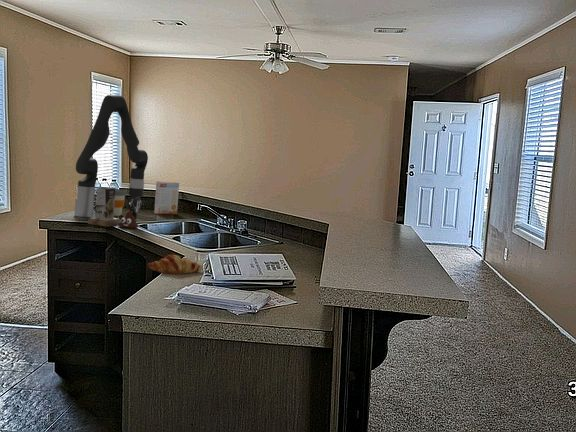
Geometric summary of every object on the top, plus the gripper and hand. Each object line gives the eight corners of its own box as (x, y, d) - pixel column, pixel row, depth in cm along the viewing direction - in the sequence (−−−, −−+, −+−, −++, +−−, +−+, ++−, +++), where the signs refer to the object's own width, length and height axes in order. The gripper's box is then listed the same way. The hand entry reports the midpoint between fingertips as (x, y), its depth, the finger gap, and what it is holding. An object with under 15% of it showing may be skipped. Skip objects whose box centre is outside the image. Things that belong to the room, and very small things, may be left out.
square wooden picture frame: (87, 223, 316) (88, 217, 315) (99, 221, 327) (99, 215, 327) (108, 226, 313) (109, 220, 313) (119, 224, 325) (120, 218, 325)
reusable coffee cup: (98, 213, 358) (99, 188, 356) (115, 212, 368) (116, 188, 366) (111, 216, 351) (113, 191, 349) (128, 215, 361) (130, 191, 359)
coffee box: (105, 219, 315) (107, 189, 313) (94, 218, 316) (96, 187, 314) (113, 217, 324) (116, 188, 322) (103, 216, 325) (105, 187, 323)
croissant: (199, 279, 234) (198, 259, 236) (207, 272, 225) (206, 252, 228) (144, 277, 224) (144, 257, 227) (151, 271, 216) (150, 249, 219)
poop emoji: (140, 227, 320) (141, 210, 319) (133, 229, 312) (134, 212, 311) (123, 225, 322) (124, 208, 321) (115, 227, 314) (117, 209, 313)
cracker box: (172, 213, 394) (174, 181, 392) (177, 214, 390) (179, 182, 387) (153, 213, 384) (156, 180, 382) (158, 214, 380) (160, 181, 378)
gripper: (137, 188, 312) (135, 221, 314) (148, 187, 325) (146, 218, 327) (124, 187, 313) (122, 219, 315) (135, 185, 326) (133, 217, 328)
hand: (134, 219), depth 321 cm, fingers closed
